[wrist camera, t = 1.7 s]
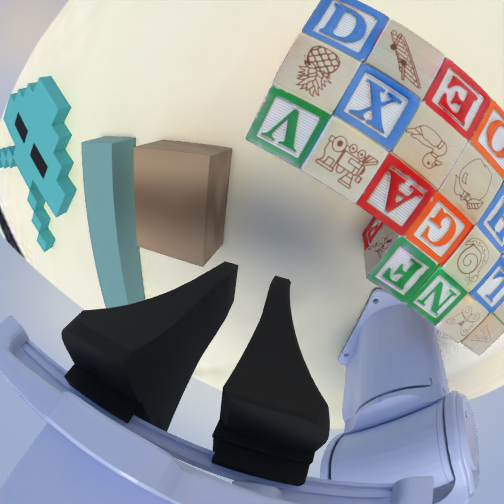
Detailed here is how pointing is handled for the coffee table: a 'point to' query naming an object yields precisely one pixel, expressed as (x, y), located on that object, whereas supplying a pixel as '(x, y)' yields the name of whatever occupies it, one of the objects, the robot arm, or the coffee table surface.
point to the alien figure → (40, 150)
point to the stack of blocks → (400, 160)
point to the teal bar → (113, 218)
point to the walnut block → (181, 198)
